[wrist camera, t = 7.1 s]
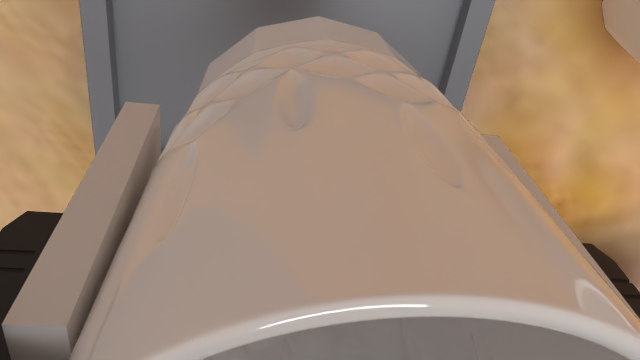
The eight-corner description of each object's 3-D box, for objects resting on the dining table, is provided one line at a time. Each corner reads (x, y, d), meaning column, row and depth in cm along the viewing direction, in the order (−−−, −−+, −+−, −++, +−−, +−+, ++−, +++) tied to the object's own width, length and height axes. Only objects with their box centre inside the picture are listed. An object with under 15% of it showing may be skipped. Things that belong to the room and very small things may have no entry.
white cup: (108, 152, 14) (-117, 593, 6) (295, -87, 11) (374, 110, 3) (320, 280, 18) (367, 677, 9) (505, 119, 15) (816, 483, 6)
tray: (426, 177, 34) (434, 194, 32) (106, 152, 31) (96, 170, 29) (537, -197, 23) (557, -201, 21) (65, -288, 20) (47, -300, 19)
